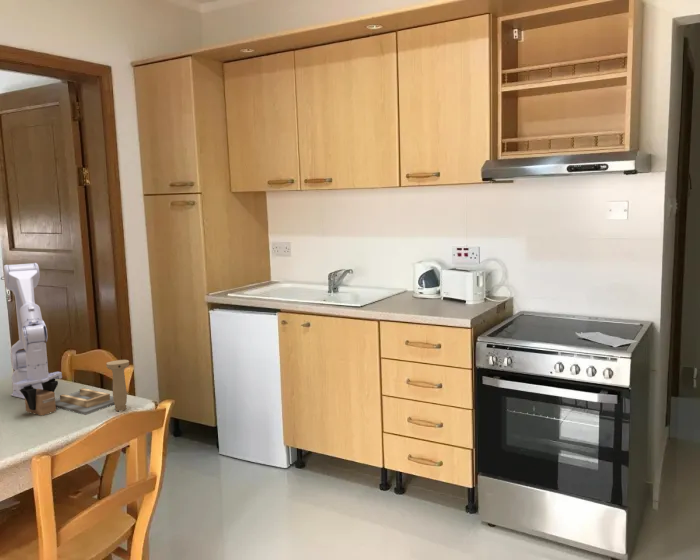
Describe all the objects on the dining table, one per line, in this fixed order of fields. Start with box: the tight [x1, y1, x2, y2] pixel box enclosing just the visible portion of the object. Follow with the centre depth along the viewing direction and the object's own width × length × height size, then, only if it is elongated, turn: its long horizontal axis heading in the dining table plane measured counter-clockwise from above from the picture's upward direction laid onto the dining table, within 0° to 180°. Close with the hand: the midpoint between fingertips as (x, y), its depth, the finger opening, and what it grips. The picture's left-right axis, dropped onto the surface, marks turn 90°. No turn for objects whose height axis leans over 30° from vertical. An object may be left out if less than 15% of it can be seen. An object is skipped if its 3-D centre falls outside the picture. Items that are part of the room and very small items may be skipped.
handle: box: [106, 359, 130, 412], centre depth 188 cm, size 5×6×15 cm
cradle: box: [55, 387, 114, 415], centre depth 196 cm, size 20×14×3 cm
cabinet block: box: [24, 389, 57, 416], centre depth 188 cm, size 9×5×6 cm, turn 60°
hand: (40, 406), depth 188 cm, fingers closed on cabinet block, 5 cm apart
